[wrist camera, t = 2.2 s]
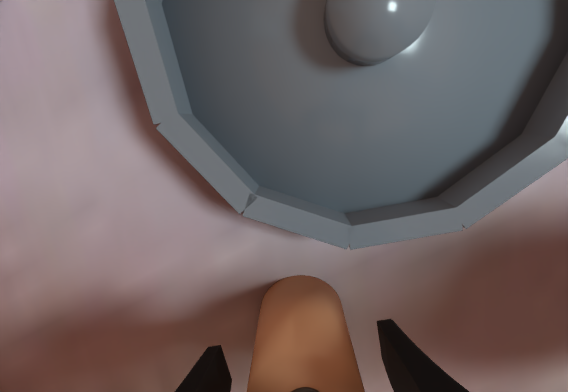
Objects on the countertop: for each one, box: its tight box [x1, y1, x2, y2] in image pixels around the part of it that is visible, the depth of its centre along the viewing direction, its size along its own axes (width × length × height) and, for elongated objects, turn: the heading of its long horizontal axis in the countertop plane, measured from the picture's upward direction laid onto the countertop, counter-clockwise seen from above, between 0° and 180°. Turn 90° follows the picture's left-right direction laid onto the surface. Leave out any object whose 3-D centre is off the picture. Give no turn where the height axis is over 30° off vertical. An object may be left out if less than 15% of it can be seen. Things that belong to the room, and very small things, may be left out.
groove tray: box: [114, 0, 568, 250], centre depth 10 cm, size 17×17×2 cm
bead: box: [247, 275, 365, 392], centre depth 13 cm, size 4×4×5 cm
